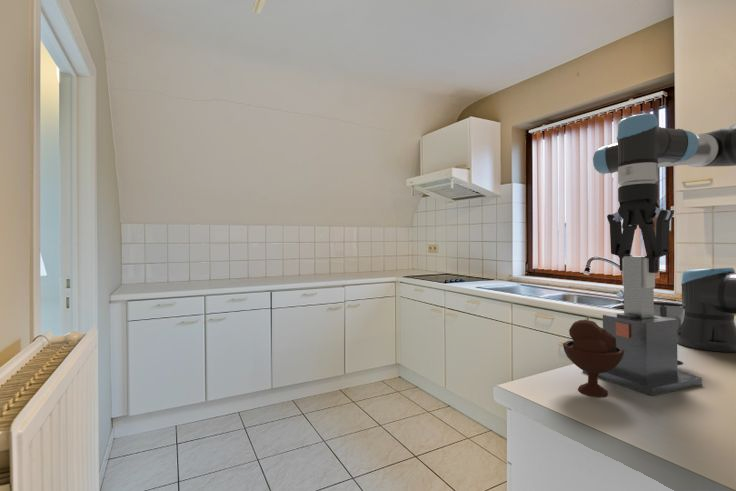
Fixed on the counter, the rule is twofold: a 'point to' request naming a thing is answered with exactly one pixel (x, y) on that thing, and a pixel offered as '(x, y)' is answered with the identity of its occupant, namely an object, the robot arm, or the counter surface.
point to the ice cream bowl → (592, 353)
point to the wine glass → (671, 313)
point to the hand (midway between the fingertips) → (638, 286)
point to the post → (637, 290)
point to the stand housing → (647, 354)
